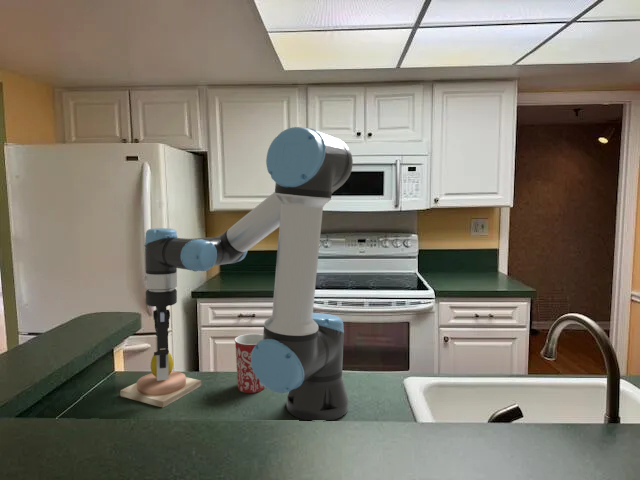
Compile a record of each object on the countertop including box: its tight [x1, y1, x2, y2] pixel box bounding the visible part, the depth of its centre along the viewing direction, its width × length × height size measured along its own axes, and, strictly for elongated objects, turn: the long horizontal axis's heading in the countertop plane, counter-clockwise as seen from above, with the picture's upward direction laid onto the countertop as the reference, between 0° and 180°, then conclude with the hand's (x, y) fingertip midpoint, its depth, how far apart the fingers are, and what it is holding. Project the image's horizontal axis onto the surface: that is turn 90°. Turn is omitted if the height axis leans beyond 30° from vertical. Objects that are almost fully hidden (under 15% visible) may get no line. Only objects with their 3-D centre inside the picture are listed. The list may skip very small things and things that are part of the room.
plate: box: [119, 370, 202, 409], centre depth 114 cm, size 14×14×3 cm
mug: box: [234, 333, 266, 394], centre depth 118 cm, size 13×9×14 cm
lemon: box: [150, 352, 174, 377], centre depth 114 cm, size 6×6×8 cm
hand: (161, 369), depth 114 cm, fingers open, 13 cm apart
